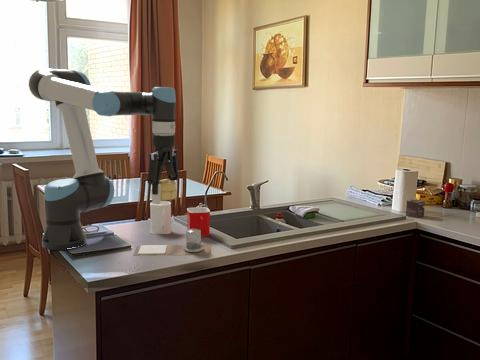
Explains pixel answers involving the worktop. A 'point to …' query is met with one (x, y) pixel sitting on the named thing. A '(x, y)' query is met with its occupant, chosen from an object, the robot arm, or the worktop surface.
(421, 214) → the box
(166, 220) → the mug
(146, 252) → the pad
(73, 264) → the worktop surface
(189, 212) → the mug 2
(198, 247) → the clear drinking glass
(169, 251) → the board
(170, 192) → the yellow block
